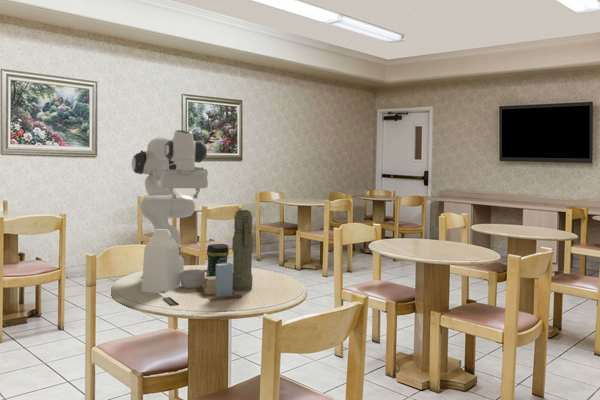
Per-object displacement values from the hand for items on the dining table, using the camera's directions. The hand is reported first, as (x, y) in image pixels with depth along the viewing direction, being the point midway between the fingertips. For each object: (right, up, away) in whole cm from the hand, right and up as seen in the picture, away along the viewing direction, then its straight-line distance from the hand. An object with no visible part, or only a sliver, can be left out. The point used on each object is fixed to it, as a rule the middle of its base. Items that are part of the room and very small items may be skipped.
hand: (184, 198), depth 229 cm
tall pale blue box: (+19, -40, -15) cm, 46 cm away
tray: (+16, -41, -13) cm, 45 cm away
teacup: (+4, -39, +1) cm, 40 cm away
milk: (-10, -39, -3) cm, 40 cm away
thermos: (+25, -40, -2) cm, 47 cm away
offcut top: (+15, -36, -9) cm, 40 cm away
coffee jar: (+12, -39, +10) cm, 42 cm away
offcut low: (+15, -39, -8) cm, 43 cm away
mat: (+2, -41, -20) cm, 45 cm away
